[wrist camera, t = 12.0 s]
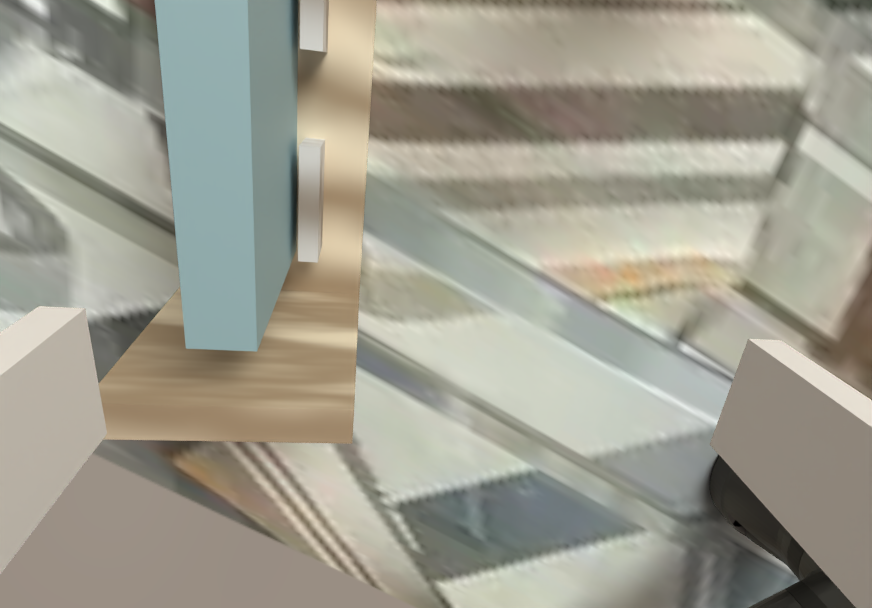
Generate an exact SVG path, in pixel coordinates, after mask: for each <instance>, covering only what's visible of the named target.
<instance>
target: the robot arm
mask: <svg viewBox="0 0 872 608" xmlns="http://www.w3.org/2000/svg"><path fill="white" fill-rule="evenodd" d="M106 434H107V430H106V424H105V419H104V413H103V407H102V402H101V396H100V390H99V385H98V379H97V373H96V367H95V362H94V356H93V350H92V345H91V339H90V333H89V328H88V322H87V316H86V311H85V308H65V307H43V306H39V307H37V308H36V309H34V310H33V311H32V312H30V313H29V314H27V315H26V316H24V317H23V318H21V319H20V320H18V321H17V322H15V323H14V324H12V325H11V326H9V327H8V328H7V329H5V330H4V331H2V332H1V333H0V574H1V573H2V571H3V570H4V568H5V567H6V566H7V565H8V564H9V562H10V561H11V560H12V558H13V557H14V556H15V554H16V553H17V552H18V550H19V549H20V548H21V546H22V545H23V544H24V542H25V541H26V540H27V538H28V537H29V536H30V534H31V533H32V532H33V531H34V529H35V528H36V526H37V525H38V524H39V523H40V521H41V520H42V519H43V517H44V516H45V515H46V513H47V512H48V511H49V509H50V508H51V507H52V506H53V504H54V503H55V502H56V500H57V499H58V498H59V496H60V495H61V494H62V492H63V491H64V490H65V488H66V487H67V486H68V484H69V483H70V482H71V480H72V479H73V478H74V477H75V475H76V474H77V473H78V471H79V470H80V469H81V467H82V466H83V465H84V463H85V462H86V461H87V459H88V458H89V457H90V455H91V454H92V453H93V452H94V450H95V449H96V448H97V446H98V445H99V444H100V442H101V441H102V440H103V438H104V437H105V436H106ZM710 445H711V446H712V447H713V448H714V450H715V451H716V452H717V453H718V454H719V455H720V456H719V458H718V460H717V462H716V464H715V466H714V468H713V471H712V475H711V479H710V493H711V497H712V500H713V502H714V504H715V506H716V507H717V508H718V510H719V511H720V512H721V513H722V515H723V516H724V517H725V518H726V520H727V521H728V522H729V523H730V524H731V525H732V526H733V527H734V528H735V529H736V530H737V531H739V532H740V533H742V534H743V535H745V536H747V537H748V538H749V539H751V540H752V541H753V542H755V543H756V544H757V545H759V546H760V547H762V548H763V549H765V550H766V551H768V552H769V553H770V554H772V555H773V556H775V557H776V558H778V559H779V560H781V561H782V562H783V563H785V564H786V565H787V566H788V567H789V568H790V569H791V570H792V572H793V573H794V574H795V575H796V576H797V578H798V579H799V580H800V581H799V582H797V583H795V584H793V585H792V586H790V587H788V588H785V589H784V590H782V591H780V592H778V593H776V594H774V595H772V596H770V597H768V598H766V599H764V600H762V601H760V602H758V603H756V604H754V605H752V606H750V607H748V608H872V400H870V399H869V398H867V397H866V396H864V395H863V394H861V393H860V392H858V391H857V390H855V389H854V388H852V387H851V386H849V385H848V384H846V383H845V382H843V381H842V380H840V379H839V378H837V377H836V376H834V375H833V374H831V373H830V372H828V371H827V370H825V369H823V368H822V367H820V366H819V365H817V364H816V363H814V362H813V361H811V360H810V359H808V358H807V357H805V356H804V355H802V354H801V353H799V352H798V351H796V350H795V349H793V348H792V347H790V346H789V345H787V344H786V343H784V342H783V341H781V340H762V339H748V341H747V344H746V347H745V349H744V352H743V355H742V358H741V360H740V363H739V366H738V368H737V371H736V374H735V377H734V379H733V382H732V385H731V388H730V390H729V393H728V396H727V399H726V401H725V404H724V407H723V409H722V412H721V415H720V418H719V420H718V423H717V426H716V429H715V431H714V434H713V437H712V440H711V442H710Z"/></svg>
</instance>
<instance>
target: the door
mask: <svg viewBox="0 0 872 608" xmlns="http://www.w3.org/2000/svg"><path fill="white" fill-rule="evenodd" d="M155 9H156V20H157V31H158V42H159V53H160V65H161V76H162V87H163V98H164V109H165V121H166V132H167V143H168V154H169V165H170V177H171V188H172V199H173V210H174V221H175V233H176V244H177V255H178V266H179V277H180V289H181V300H182V311H183V322H184V333H185V345H186V349H208V350H233V351H258V348H259V345H260V343H261V340H262V338H263V335H264V332H265V330H266V327H267V325H268V322H269V319H270V317H271V314H272V312H273V309H274V307H275V304H276V301H277V299H278V296H279V294H280V291H281V288H282V286H283V283H284V281H285V278H286V275H287V273H288V270H289V268H290V265H291V262H292V260H293V257H294V255H295V252H296V230H297V85H298V0H155Z"/></svg>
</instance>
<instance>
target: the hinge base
mask: <svg viewBox="0 0 872 608" xmlns="http://www.w3.org/2000/svg"><path fill="white" fill-rule="evenodd" d="M376 3H377V0H298V85H297V230H296V252H295V255H294V257H293V260H292V262H291V265H290V268H289V270H288V273H287V275H286V278H285V281H284V283H283V286H282V288H281V291H280V294H279V296H278V299H277V301H276V304H275V307H274V309H273V312H272V314H271V317H270V319H269V322H268V325H267V327H266V330H265V332H264V335H263V338H262V340H261V343H260V345H259V348H258V351H233V350H208V349H186V345H185V333H184V322H183V311H182V300H181V289H180V287H179V289H178V290H177V291H176V292H175V293H174V295H173V296H172V297H171V298H170V299H169V301H168V302H167V303H166V304H165V305H164V307H163V308H162V309H161V310H160V311H159V313H158V314H157V315H156V316H155V317H154V318H153V320H152V321H151V322H150V323H149V324H148V326H147V327H146V328H145V329H144V330H143V332H142V333H141V334H140V335H139V336H138V338H137V339H136V340H135V341H134V342H133V344H132V345H131V346H130V347H129V348H128V350H127V351H126V352H125V353H124V354H123V356H122V357H121V358H120V359H119V360H118V362H117V363H116V364H115V365H114V366H113V367H112V369H111V370H110V371H109V372H108V373H107V375H106V376H105V377H104V378H103V379H102V381H101V382H100V383H99V384H98V385H99V390H100V396H101V402H102V407H103V413H104V419H105V424H106V430H107V434H106V436H105V437H104V438H103V439H113V440H174V441H234V442H295V443H352V435H353V418H354V399H355V376H356V353H357V331H358V308H359V288H360V271H361V254H362V237H363V221H364V204H365V187H366V170H367V154H368V137H369V120H370V103H371V86H372V70H373V53H374V36H375V19H376Z"/></svg>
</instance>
